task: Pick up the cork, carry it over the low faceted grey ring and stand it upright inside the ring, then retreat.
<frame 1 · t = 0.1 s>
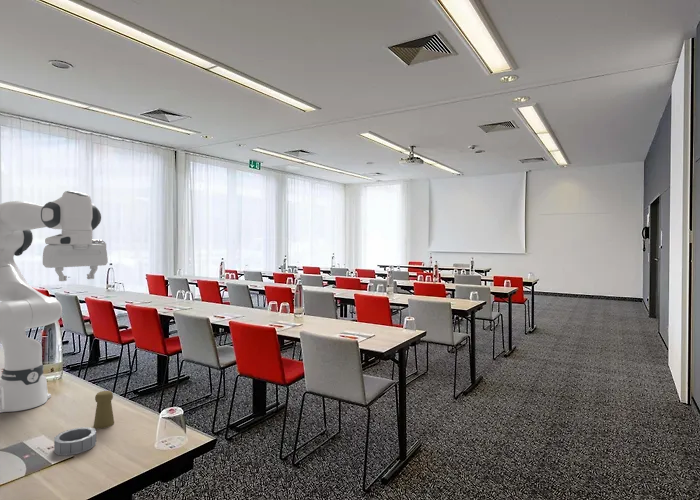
hand: (77, 280, 146), 48 cm above the table, fingers open, 8 cm apart
faceted grey ring: (75, 446, 128), on the table
cork: (104, 425, 144), on the table
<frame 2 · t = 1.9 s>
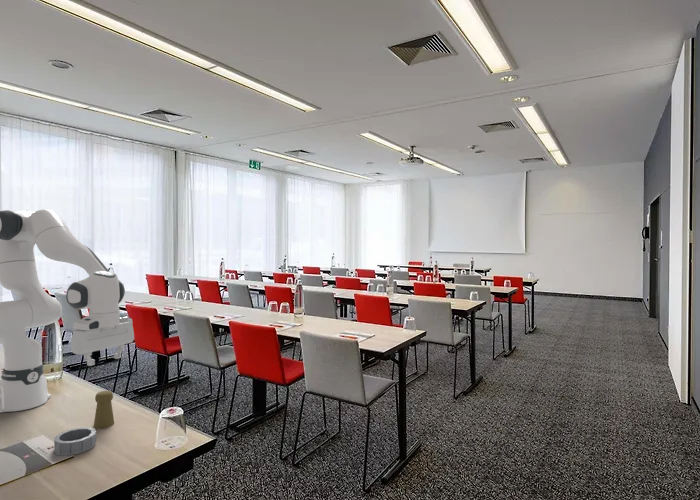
hand: (104, 361, 143), 21 cm above the table, fingers open, 8 cm apart
nothing on the table moved.
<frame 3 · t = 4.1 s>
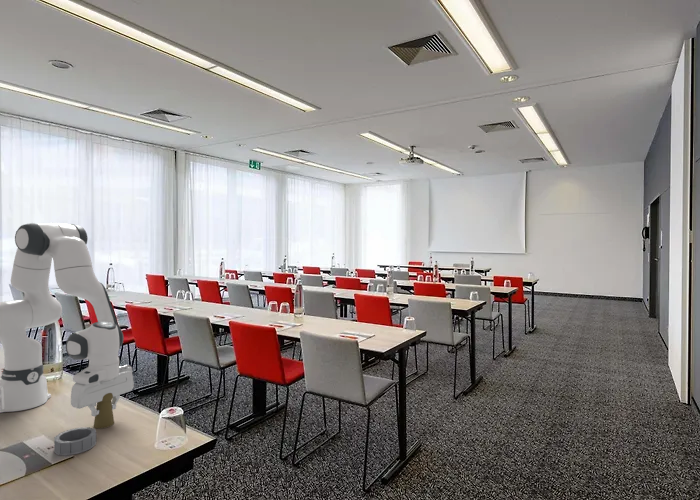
hand: (104, 412, 144), 4 cm above the table, fingers closed on cork, 5 cm apart
cork: (104, 425, 144), on the table, touching gripper
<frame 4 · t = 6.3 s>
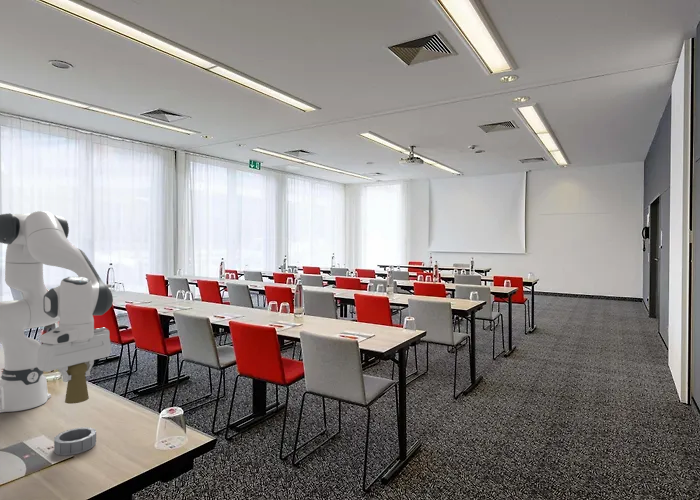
hand: (76, 378, 128), 20 cm above the table, fingers closed on cork, 4 cm apart
cork: (76, 400, 128), point 14 cm above the table, touching gripper
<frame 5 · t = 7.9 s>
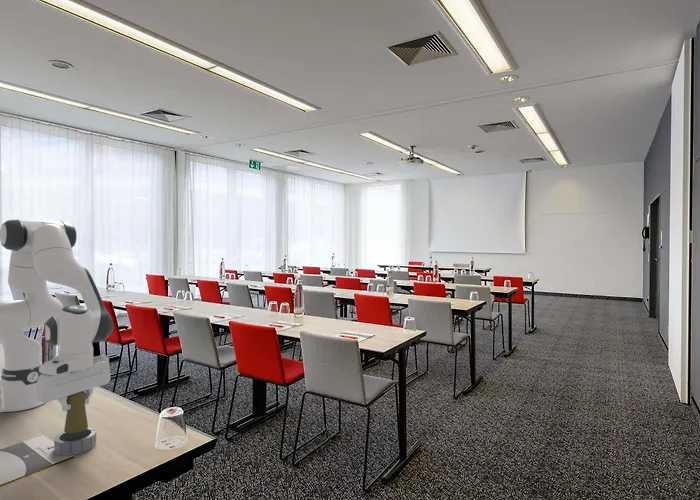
hand: (75, 407, 128), 12 cm above the table, fingers closed on cork, 4 cm apart
cork: (76, 429, 128), point 5 cm above the table, touching gripper
when the fingers open (6 cm above the table, at t = 9.3 s): cork stays where it is, resting on faceted grey ring.
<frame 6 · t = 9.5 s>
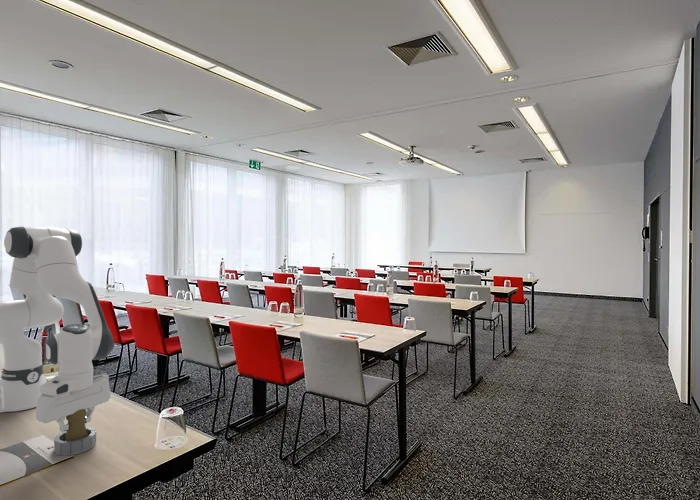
hand: (75, 426, 128), 6 cm above the table, fingers open, 5 cm apart
cork: (76, 445, 128), resting on faceted grey ring
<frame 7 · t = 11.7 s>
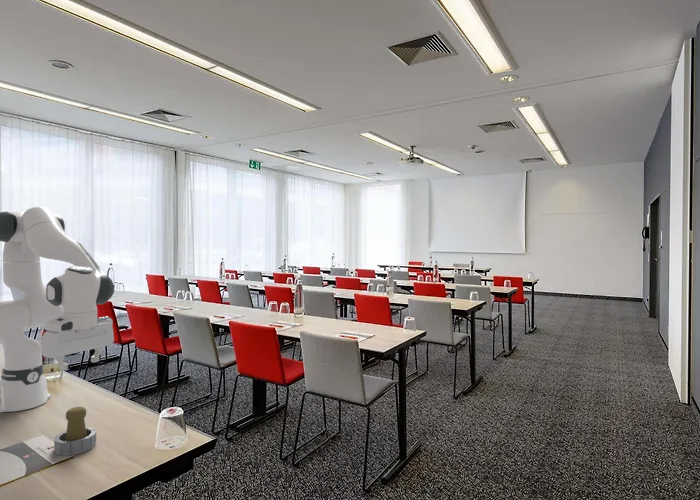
hand: (79, 365, 131), 23 cm above the table, fingers open, 8 cm apart
nothing on the table moved.
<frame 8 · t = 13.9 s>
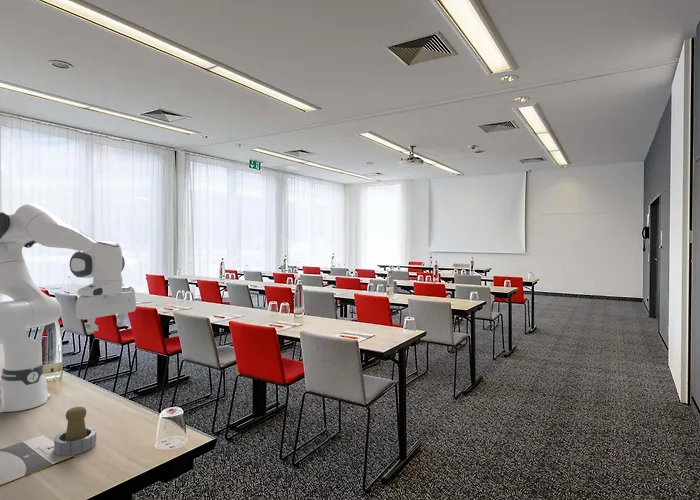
hand: (107, 328, 148), 31 cm above the table, fingers open, 8 cm apart
nothing on the table moved.
at the end: cork 0.2 cm from the faceted grey ring (horizontally); cork resting on faceted grey ring; cork tilted 0° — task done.
